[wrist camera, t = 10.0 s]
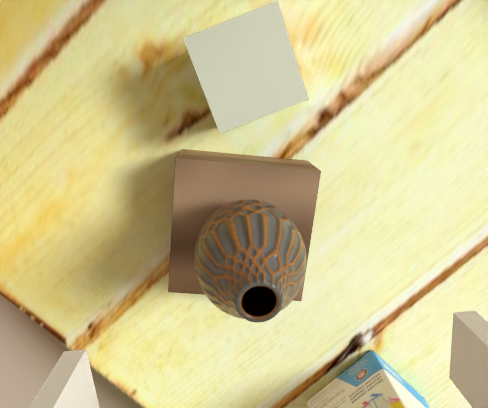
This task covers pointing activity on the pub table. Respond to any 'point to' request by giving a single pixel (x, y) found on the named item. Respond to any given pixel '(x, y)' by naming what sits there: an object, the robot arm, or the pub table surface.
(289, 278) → the vase
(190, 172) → the plinth
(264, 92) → the sage cube
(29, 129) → the pub table surface
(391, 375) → the ink box
